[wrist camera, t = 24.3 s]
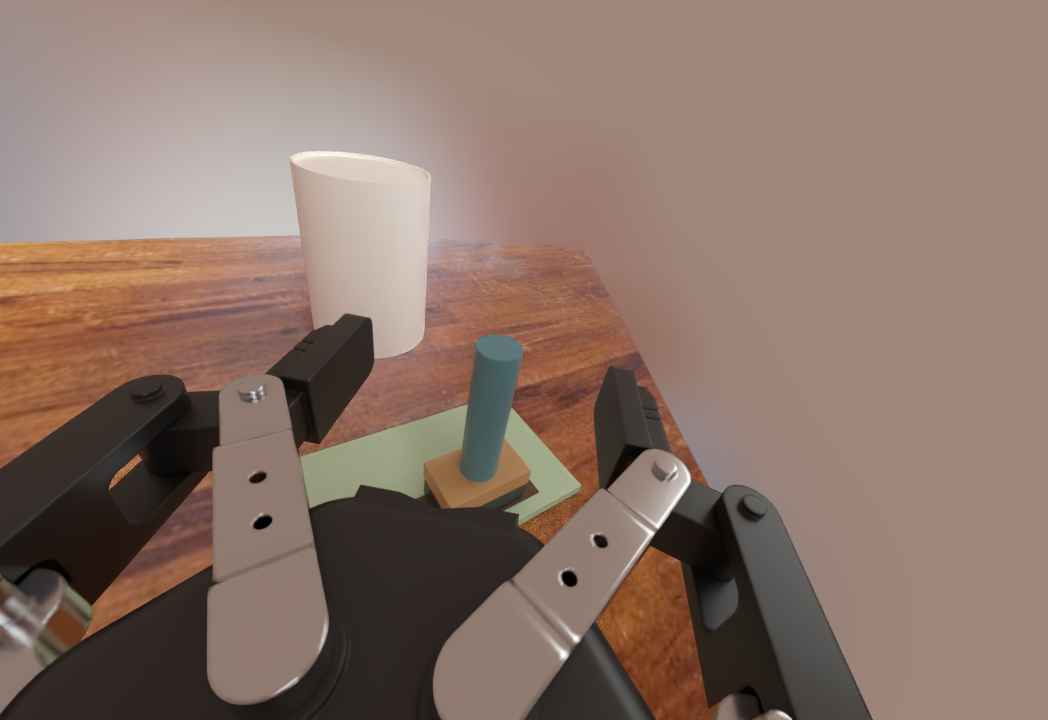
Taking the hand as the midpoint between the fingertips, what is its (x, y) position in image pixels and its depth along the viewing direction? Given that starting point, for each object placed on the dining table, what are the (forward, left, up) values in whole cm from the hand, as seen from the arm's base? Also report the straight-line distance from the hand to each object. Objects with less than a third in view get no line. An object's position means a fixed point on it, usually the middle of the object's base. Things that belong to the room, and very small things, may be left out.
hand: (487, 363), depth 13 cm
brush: (-6, -7, -21) cm, 23 cm away
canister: (-8, -37, -22) cm, 43 cm away
